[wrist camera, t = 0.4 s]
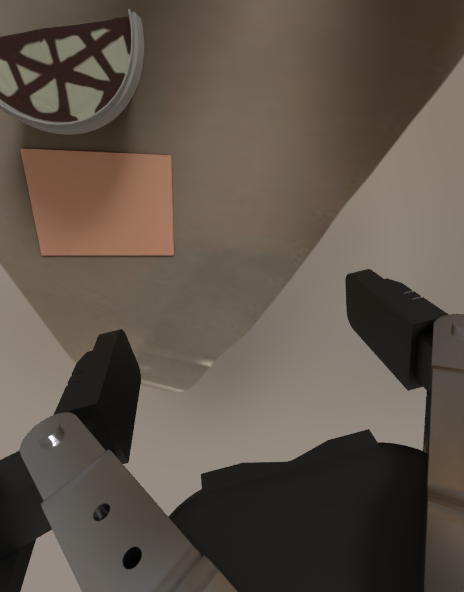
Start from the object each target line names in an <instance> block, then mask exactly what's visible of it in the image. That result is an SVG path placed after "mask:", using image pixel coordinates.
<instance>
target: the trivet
mask: <svg viewBox="0 0 464 592" xmlns="http://www.w3.org/2000/svg"><path fill="white" fill-rule="evenodd" d="M20 150H21V155H22V160H23V165H24V170H25V175H26V180H27V185H28V190H29V195H30V200H31V205H32V210H33V215H34V220H35V225H36V230H37V235H38V240H39V245H40V250H41V255H174V243H173V206H172V169H171V155H154V154H132V153H110V152H88V151H66V150H44V149H22V148H21V149H20Z"/></svg>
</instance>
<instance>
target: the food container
mask: <svg viewBox="0 0 464 592" xmlns="http://www.w3.org/2000/svg"><path fill="white" fill-rule="evenodd" d="M128 15H129V17H123V18H115V19H112V20H107V21H101V22H94V23H87V24H80V25H72V26H63V27H54V28H45V29H39V30H34V31H29V32H24V33H19V34H14V35H8V36H3V37H0V108H1V109H3V110H4V111H5V112H7V113H8V114H10V115H11V116H13V117H14V118H16V119H18V120H20V121H21V122H23V123H25V124H27V125H29V126H32V127H34V128H37V129H39V130H42V131H46V132H50V133H55V134H65V135H73V134H83V133H87V132H91V131H94V130H97V129H99V128H101V127H103V126H105V125H107V124H108V123H110V122H111V121H112V120H114V119H115V118H116V117H118V115H119V114H120V113H121V112H122V111H123V110H124V109H125V108H126V107H127V105H128V103H129V102H130V100H131V99H132V97H133V95H134V93H135V91H136V88H137V86H138V84H139V80H140V76H141V72H142V68H143V59H144V33H143V27H142V21H141V18H140V17H139V16H138V15H137V14H136V13H135V12H131V11H130V9H128Z"/></svg>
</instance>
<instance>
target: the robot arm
mask: <svg viewBox="0 0 464 592" xmlns="http://www.w3.org/2000/svg"><path fill="white" fill-rule="evenodd" d="M346 305H347V316H348V320H349V323H350V325H351V327H352V328H353V330H354V331H355V332H356V333H357V334H358V335H359V336H360V337H361V339H362V340H363V341H364V342H365V343H366V344H367V345H368V346H369V347H370V349H371V350H372V351H373V352H374V353H375V354H376V355H377V356H378V358H379V359H380V360H381V361H382V362H383V363H384V364H385V365H386V366H387V368H388V369H389V370H390V371H391V372H392V373H393V374H394V375H395V376H396V378H397V379H398V380H399V381H400V382H401V383H402V384H403V386H404V387H405V388H406V389H407V390H412V389H416V388H420V387H424V388H425V389H426V390H427V396H426V409H425V426H424V442H423V451H421V450H418V449H415V448H412V447H408V446H404V445H399V444H394V443H377V441H376V440H375V438H374V436H373V435H372V433H371V432H370V430H369V429H368V430H365V431H361V432H357V433H354V434H350V435H346V436H342V437H339V438H335V439H331V440H328V441H326V442H324V443H322V444H321V445H319V446H317V447H315V448H313V449H312V450H310V451H308V452H306V453H305V454H303V455H301V456H299V457H298V458H296V459H294V460H292V461H288V462H260V463H240V464H237V465H233V466H230V467H225V468H222V469H218V470H214V471H211V472H207V473H203V474H201V480H202V489H201V490H199V491H198V492H196V493H194V494H193V495H192V496H190V497H189V498H187V499H186V500H185V501H184V502H183V503H182V504H180V505H179V506H178V507H177V508H176V509H175V510H174V511H173V512H172V513H171V515H170V516H169V517H168V516H167V515H166V514H165V513H164V512H163V510H162V509H161V508H160V507H159V506H158V505H157V503H156V502H155V501H154V500H153V499H152V498H151V496H150V495H149V494H148V493H147V492H146V491H145V489H144V488H143V487H142V486H141V485H140V484H139V483H138V481H137V480H136V479H135V478H134V477H133V476H132V474H130V472H129V471H128V470H127V469H126V468H125V466H123V464H125V463H128V462H129V456H130V449H131V443H132V436H133V429H134V422H135V416H136V410H137V402H138V397H139V390H140V384H141V374H140V369H139V365H138V363H137V360H136V358H135V355H134V353H133V351H132V348H131V346H130V343H129V341H128V339H127V336H126V334H125V332H124V331H123V330H122V329H120V330H116V331H112V332H108V333H104V334H100V335H99V336H98V338H97V341H96V343H95V346H94V348H93V351H90V352H87V353H86V354H85V355H84V356H83V357H82V358H81V359H80V360H79V361H78V362H77V363H76V366H75V368H74V370H73V372H72V376H71V377H70V379H69V381H68V386H66V388H65V390H64V393H63V395H62V397H61V399H60V402H59V404H58V406H57V409H56V411H55V413H54V415H53V416H51V417H49V418H47V419H45V420H43V421H42V422H40V423H39V424H37V425H36V426H35V427H34V428H33V429H32V430H31V431H30V432H29V433H28V434H27V435H26V436H25V438H24V439H23V441H22V443H21V446H20V451H18V452H16V453H14V454H12V455H10V456H8V457H6V458H4V459H2V460H0V592H20V591H21V587H22V584H23V580H24V577H25V574H26V571H27V567H28V564H29V560H30V557H31V554H32V550H33V547H34V544H35V541H36V538H38V537H40V536H41V535H43V534H45V533H47V532H48V531H50V530H53V532H54V534H55V536H56V538H57V540H58V542H59V544H60V546H61V549H62V550H63V553H64V555H65V557H66V559H67V561H68V563H69V565H70V567H71V569H72V571H73V573H74V576H75V578H76V580H77V581H78V584H79V586H80V588H81V590H82V592H464V314H451V315H448V314H447V313H445V312H444V311H443V310H441V309H440V308H438V307H437V306H435V305H434V304H432V303H431V302H429V301H428V300H426V299H425V298H423V297H422V298H421V296H420V295H419V294H417V293H416V292H412V290H411V289H410V288H408V287H407V286H405V285H404V284H402V283H399V282H396V281H393V280H390V279H383V278H382V277H380V276H379V275H377V274H376V273H375V272H373V271H372V270H370V269H367V270H363V271H358V272H355V273H350V274H348V275H347V276H346Z"/></svg>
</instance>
